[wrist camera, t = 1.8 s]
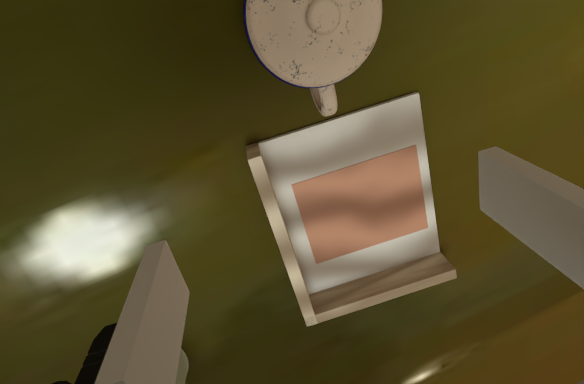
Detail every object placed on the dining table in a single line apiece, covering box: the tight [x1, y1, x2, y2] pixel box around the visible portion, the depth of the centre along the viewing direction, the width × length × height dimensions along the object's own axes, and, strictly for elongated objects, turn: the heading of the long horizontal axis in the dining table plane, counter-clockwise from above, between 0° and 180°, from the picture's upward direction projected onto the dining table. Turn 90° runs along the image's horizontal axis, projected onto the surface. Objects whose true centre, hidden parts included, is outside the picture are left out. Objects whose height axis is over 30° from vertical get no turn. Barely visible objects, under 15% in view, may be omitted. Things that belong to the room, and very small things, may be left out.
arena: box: [246, 92, 457, 327], centre depth 39 cm, size 20×17×4 cm
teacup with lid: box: [243, 0, 382, 116], centre depth 28 cm, size 12×9×12 cm
